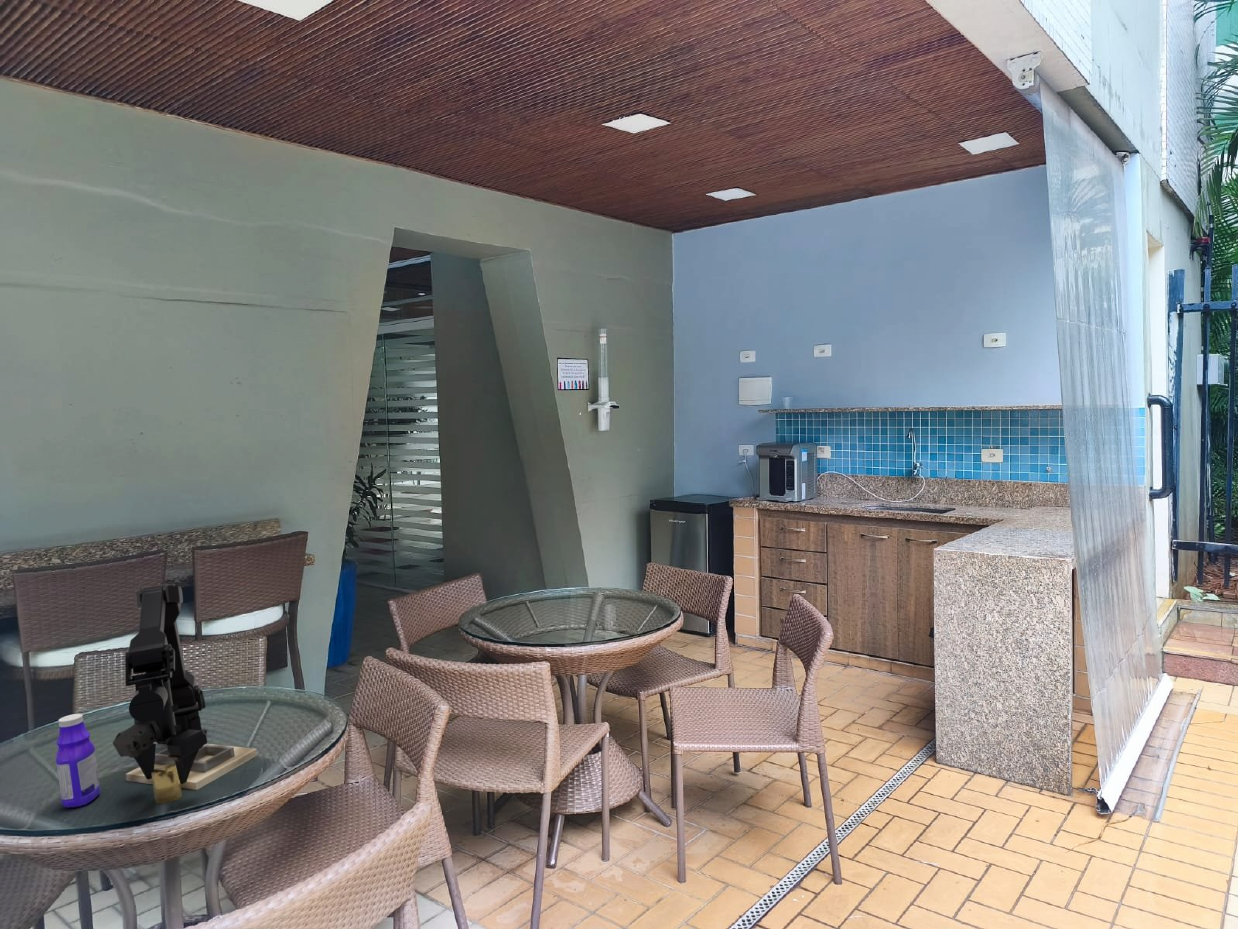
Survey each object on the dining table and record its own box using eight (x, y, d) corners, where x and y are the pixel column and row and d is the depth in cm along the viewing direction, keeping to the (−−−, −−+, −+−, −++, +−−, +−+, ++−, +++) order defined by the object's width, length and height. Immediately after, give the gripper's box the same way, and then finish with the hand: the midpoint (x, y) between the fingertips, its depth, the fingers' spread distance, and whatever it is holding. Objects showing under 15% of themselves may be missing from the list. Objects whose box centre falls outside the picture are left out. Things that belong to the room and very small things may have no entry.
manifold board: (126, 780, 175) (124, 764, 175) (190, 748, 190) (188, 733, 190) (196, 790, 168) (194, 773, 168) (257, 755, 183) (255, 740, 182)
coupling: (150, 802, 164) (146, 773, 164) (170, 791, 168) (166, 763, 168) (167, 805, 162) (163, 775, 162) (187, 794, 167) (183, 765, 166)
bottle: (77, 794, 171) (65, 712, 169) (106, 791, 171) (94, 709, 170) (56, 811, 164) (44, 726, 162) (87, 808, 164) (74, 722, 163)
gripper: (83, 717, 160) (95, 796, 161) (154, 724, 153) (165, 806, 154) (136, 696, 170) (146, 770, 172) (204, 701, 163) (214, 778, 165)
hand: (166, 781), depth 165 cm, fingers open, 9 cm apart
